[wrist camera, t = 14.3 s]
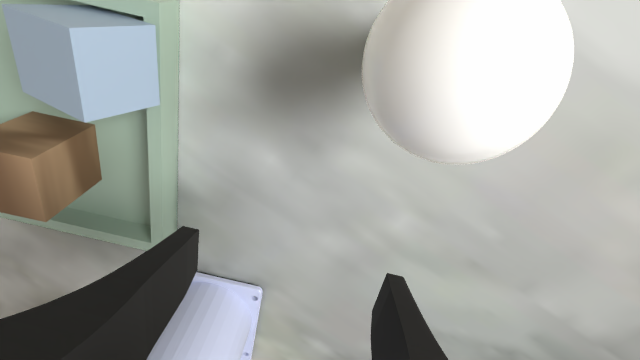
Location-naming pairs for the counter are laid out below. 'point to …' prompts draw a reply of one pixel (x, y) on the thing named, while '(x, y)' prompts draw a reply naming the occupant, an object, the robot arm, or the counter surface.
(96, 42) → the bluegrey block
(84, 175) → the walnut block
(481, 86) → the lightbulb
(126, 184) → the tray
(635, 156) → the counter surface
